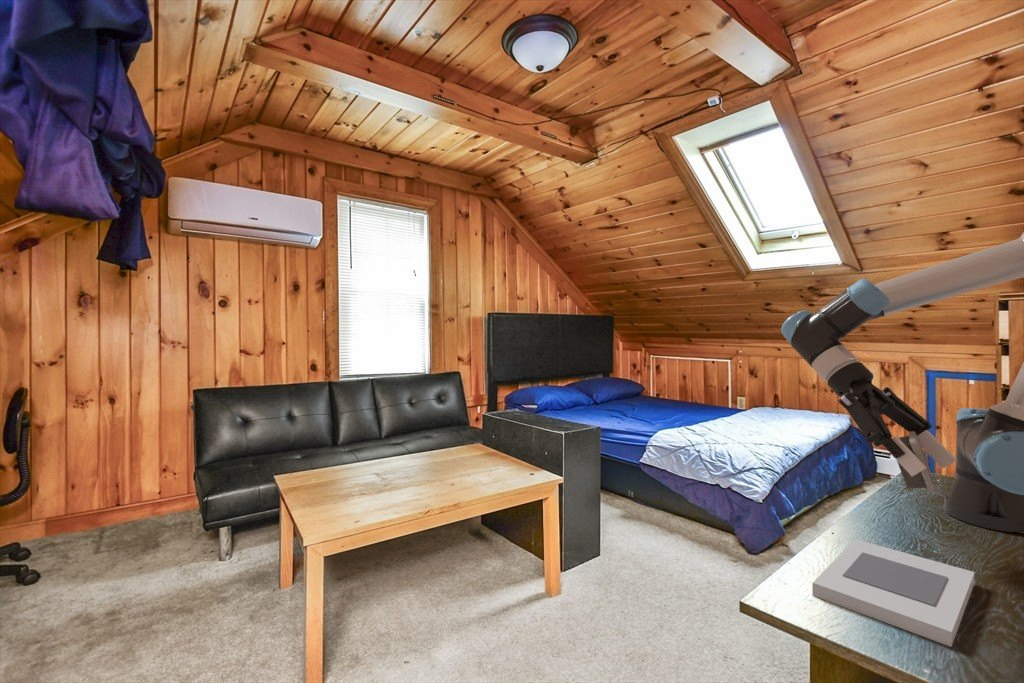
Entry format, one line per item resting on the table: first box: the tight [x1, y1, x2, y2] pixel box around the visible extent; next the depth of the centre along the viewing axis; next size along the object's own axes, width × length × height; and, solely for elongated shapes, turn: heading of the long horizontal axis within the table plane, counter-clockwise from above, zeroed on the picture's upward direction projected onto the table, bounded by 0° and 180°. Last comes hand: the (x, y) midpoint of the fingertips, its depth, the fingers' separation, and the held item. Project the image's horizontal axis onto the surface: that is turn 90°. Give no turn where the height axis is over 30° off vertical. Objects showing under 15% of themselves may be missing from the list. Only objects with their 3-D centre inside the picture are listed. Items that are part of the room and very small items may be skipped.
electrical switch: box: [896, 431, 935, 493], centre depth 90 cm, size 9×5×9 cm, turn 141°
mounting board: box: [811, 538, 975, 648], centre depth 76 cm, size 22×16×2 cm
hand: (934, 468), depth 87 cm, fingers closed on electrical switch, 9 cm apart
